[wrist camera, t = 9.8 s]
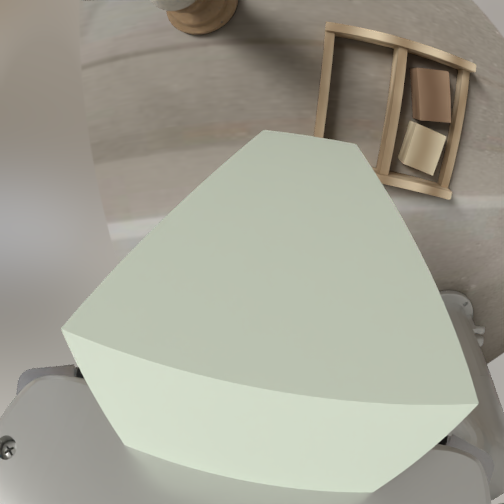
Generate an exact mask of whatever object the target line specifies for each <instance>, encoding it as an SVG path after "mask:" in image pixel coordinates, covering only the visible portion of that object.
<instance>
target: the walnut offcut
mask: <svg viewBox="0 0 504 504" xmlns="http://www.w3.org/2000/svg"><path fill="white" fill-rule="evenodd" d="M410 79H411V92H412V110H413V118H415V119H418V120H422V121H436V122H448V123H451V98H450V81H449V71H442V70H434V69H425V68H412V69H410Z"/></svg>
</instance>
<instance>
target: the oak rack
mask: <svg viewBox="0 0 504 504" xmlns="http://www.w3.org/2000/svg"><path fill="white" fill-rule="evenodd" d="M335 36H337V37H343V38H349V39H354V40H359V41H364V42H368V43H373V44H377V45H381V46H385V47H389V48H393V49H394V51H393V61H392V70H391V79H390V87H389V95H388V102H387V109H386V115H385V121H384V128H383V133H382V139H381V145H380V150H379V155H378V161H377V166H376V168H374V167H372V169H373V170H374V172H375V173H376V175H377V177H378V178H379V180H380V181H381V183H382V184H386V185H391V186H395V187H399V188H404V189H408V190H412V191H417V192H421V193H425V194H429V195H433V196H437V197H441V198H444V199H448V200H450V199H451V195H452V192H451V191H450V190H449V189H448V186H449V182H450V178H451V175H452V171H453V167H454V163H455V158H456V154H457V149H458V145H459V140H460V135H461V130H462V125H463V119H464V113H465V107H466V100H467V93H468V85H469V77H470V72H476V64H474V63H471V62H469V61H467V60H464V59H462V58H460V57H457V56H454V55H452V54H449V53H447V52H444V51H441V50H439V49H436V48H433V47H430V46H427V45H424V44H421V43H418V42H414V41H411V40H408V39H404V38H401V37H397V36H394V35H390V34H386V33H382V32H378V31H373V30H369V29H364V28H360V27H355V26H349V25H344V24H338V23H332V22H326V27H325V38H324V49H323V60H322V69H321V79H320V88H319V97H318V106H317V114H316V122H315V130H314V137H319V138H323V135H324V128H325V120H326V112H327V104H328V96H329V87H330V78H331V69H332V59H333V49H334V38H335ZM407 53H411V54H414V55H417V56H421V57H424V58H427V59H430V60H433V61H436V62H439V63H441V64H444V65H447V66H450V67H452V68H455V69H457V70H458V74H457V83H456V91H455V98H454V104H453V111H452V117H451V123H450V128H449V133H448V138H447V143H446V148H445V152H444V157H443V161H442V166H441V170H440V174H439V178H438V182H433V181H429V180H425V179H422V178H418V177H414V176H410V175H405V174H401V173H397V172H393V171H389V169H390V164H391V159H392V154H393V149H394V144H395V138H396V133H397V127H398V121H399V115H400V109H401V102H402V95H403V88H404V80H405V71H406V62H407Z"/></svg>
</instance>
